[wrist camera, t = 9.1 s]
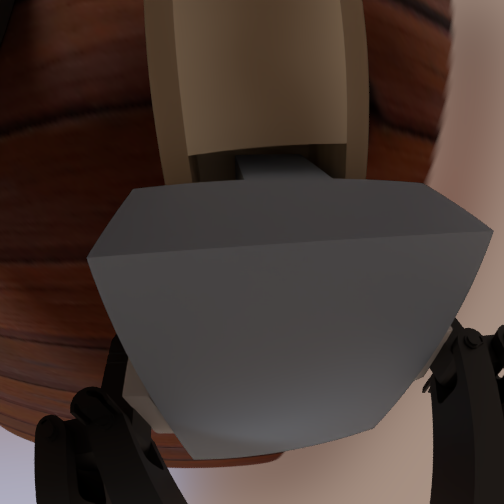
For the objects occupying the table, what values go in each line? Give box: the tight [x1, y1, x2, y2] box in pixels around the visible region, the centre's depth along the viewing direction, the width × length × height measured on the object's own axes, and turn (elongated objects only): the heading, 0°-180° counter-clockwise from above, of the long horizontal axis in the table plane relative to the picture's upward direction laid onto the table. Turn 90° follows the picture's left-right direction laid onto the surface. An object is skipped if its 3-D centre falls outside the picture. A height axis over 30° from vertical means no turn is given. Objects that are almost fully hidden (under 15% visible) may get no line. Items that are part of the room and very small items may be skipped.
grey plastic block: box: [87, 154, 493, 459], centre depth 10 cm, size 8×10×7 cm
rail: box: [144, 0, 369, 185], centre depth 12 cm, size 6×24×4 cm, turn 4°
